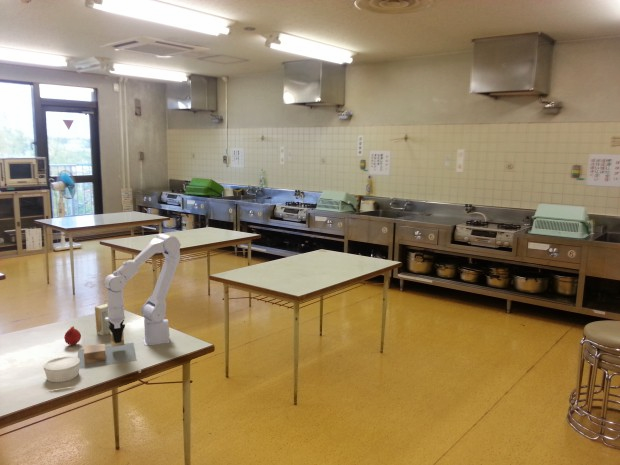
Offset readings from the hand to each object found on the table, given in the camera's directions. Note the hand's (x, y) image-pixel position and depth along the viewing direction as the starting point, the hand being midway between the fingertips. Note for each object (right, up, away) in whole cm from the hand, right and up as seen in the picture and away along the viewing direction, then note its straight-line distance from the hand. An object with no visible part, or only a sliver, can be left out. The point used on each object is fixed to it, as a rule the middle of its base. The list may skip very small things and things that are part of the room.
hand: (117, 340), depth 186 cm
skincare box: (-13, -2, +19) cm, 23 cm away
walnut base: (-5, -5, -7) cm, 10 cm away
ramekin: (-10, -8, -21) cm, 25 cm away
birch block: (0, -1, 0) cm, 2 cm away
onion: (-20, -4, +5) cm, 21 cm away
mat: (-3, -5, -4) cm, 7 cm away
